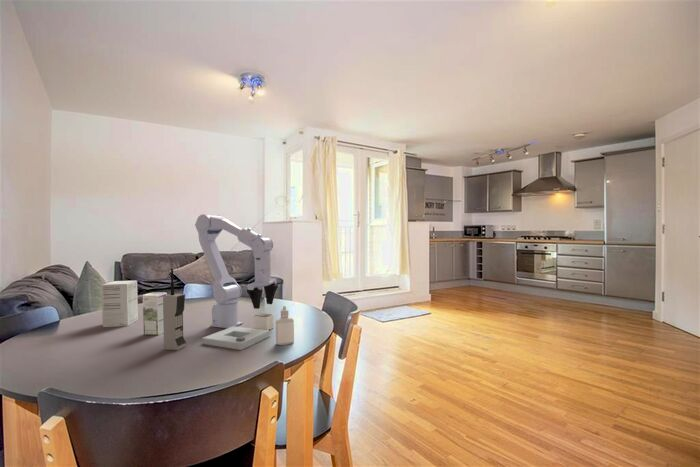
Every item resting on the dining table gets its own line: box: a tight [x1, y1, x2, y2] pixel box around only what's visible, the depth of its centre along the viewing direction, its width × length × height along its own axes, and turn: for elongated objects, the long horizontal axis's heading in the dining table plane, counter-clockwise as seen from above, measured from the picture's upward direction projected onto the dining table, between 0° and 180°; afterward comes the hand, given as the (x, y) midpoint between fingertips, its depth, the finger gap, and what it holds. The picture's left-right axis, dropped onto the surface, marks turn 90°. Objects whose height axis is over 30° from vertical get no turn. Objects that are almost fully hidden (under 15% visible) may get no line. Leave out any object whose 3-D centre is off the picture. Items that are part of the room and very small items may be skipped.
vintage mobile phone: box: [163, 268, 187, 351], centre depth 104 cm, size 4×5×25 cm
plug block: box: [253, 312, 275, 331], centre depth 124 cm, size 6×4×5 cm, turn 67°
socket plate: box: [201, 326, 271, 351], centre depth 111 cm, size 16×14×3 cm
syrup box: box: [142, 292, 168, 336], centre depth 121 cm, size 6×6×14 cm
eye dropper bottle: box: [275, 305, 295, 346], centre depth 107 cm, size 4×6×12 cm
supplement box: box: [101, 280, 139, 328], centre depth 135 cm, size 10×9×17 cm
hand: (263, 306), depth 124 cm, fingers open, 7 cm apart
